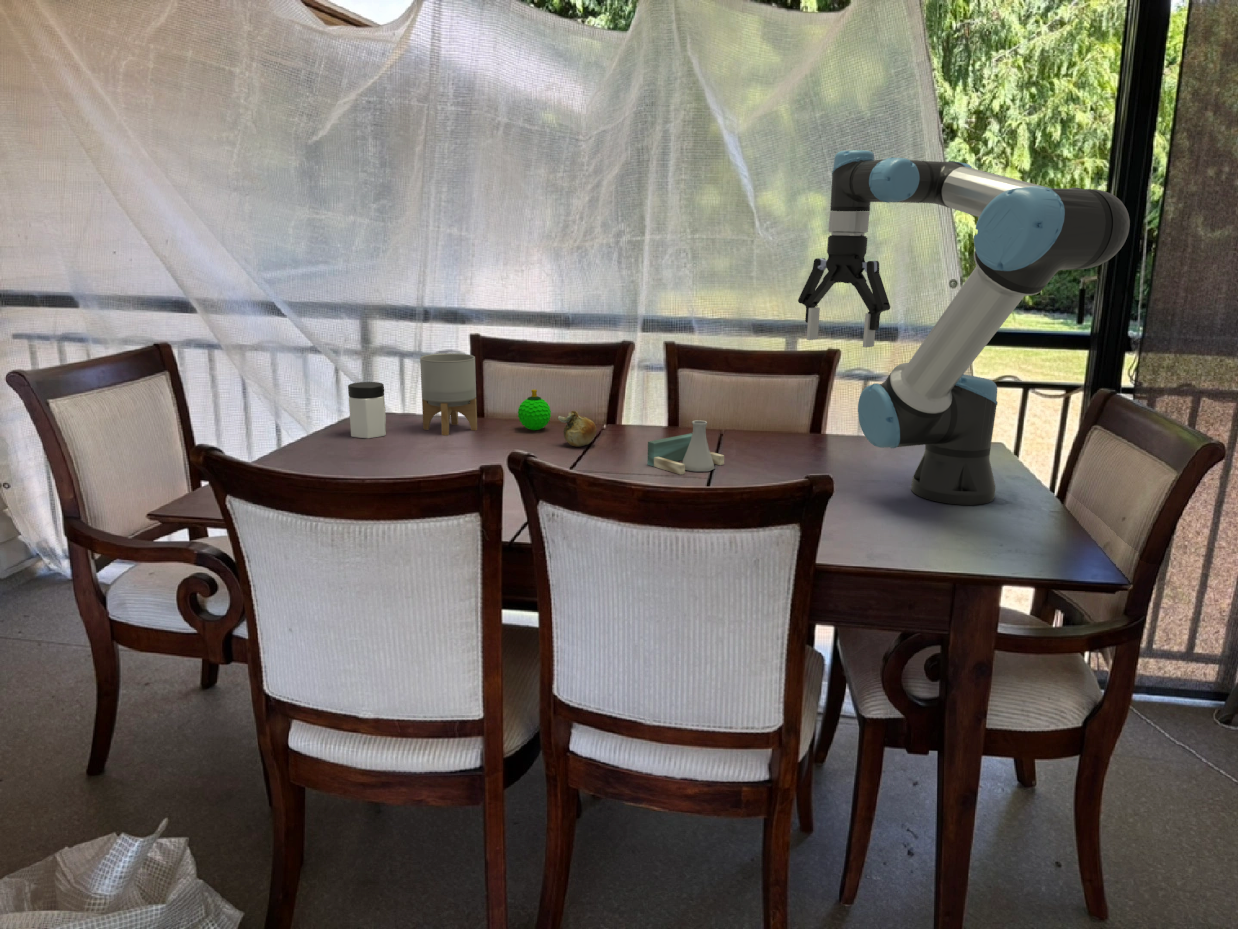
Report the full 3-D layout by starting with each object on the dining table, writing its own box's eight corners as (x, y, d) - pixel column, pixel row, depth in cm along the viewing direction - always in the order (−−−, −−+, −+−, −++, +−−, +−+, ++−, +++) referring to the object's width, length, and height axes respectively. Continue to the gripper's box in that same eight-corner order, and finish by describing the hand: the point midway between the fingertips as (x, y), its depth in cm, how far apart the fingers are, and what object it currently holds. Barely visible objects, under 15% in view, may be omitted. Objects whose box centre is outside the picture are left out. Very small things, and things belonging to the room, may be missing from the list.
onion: (577, 451, 200) (577, 416, 198) (555, 444, 206) (555, 410, 204) (603, 446, 205) (603, 412, 203) (581, 439, 211) (581, 406, 209)
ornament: (522, 425, 225) (521, 386, 222) (554, 427, 224) (554, 387, 221) (514, 433, 217) (513, 392, 214) (547, 434, 216) (546, 393, 213)
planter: (472, 436, 213) (469, 361, 209) (417, 435, 213) (414, 360, 209) (481, 424, 226) (479, 353, 221) (429, 423, 226) (426, 352, 221)
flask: (713, 474, 184) (715, 426, 182) (678, 471, 186) (679, 424, 183) (716, 465, 191) (718, 419, 188) (683, 462, 192) (684, 417, 190)
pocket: (723, 464, 191) (725, 441, 190) (680, 474, 183) (681, 451, 182) (690, 455, 199) (691, 433, 197) (647, 464, 190) (647, 441, 189)
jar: (386, 438, 210) (383, 387, 207) (349, 439, 208) (346, 388, 205) (387, 429, 218) (384, 380, 215) (352, 430, 217) (349, 381, 213)
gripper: (915, 235, 168) (904, 348, 174) (808, 233, 187) (801, 335, 192) (893, 235, 164) (882, 351, 169) (785, 233, 182) (779, 337, 187)
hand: (839, 343), depth 181 cm, fingers open, 13 cm apart
